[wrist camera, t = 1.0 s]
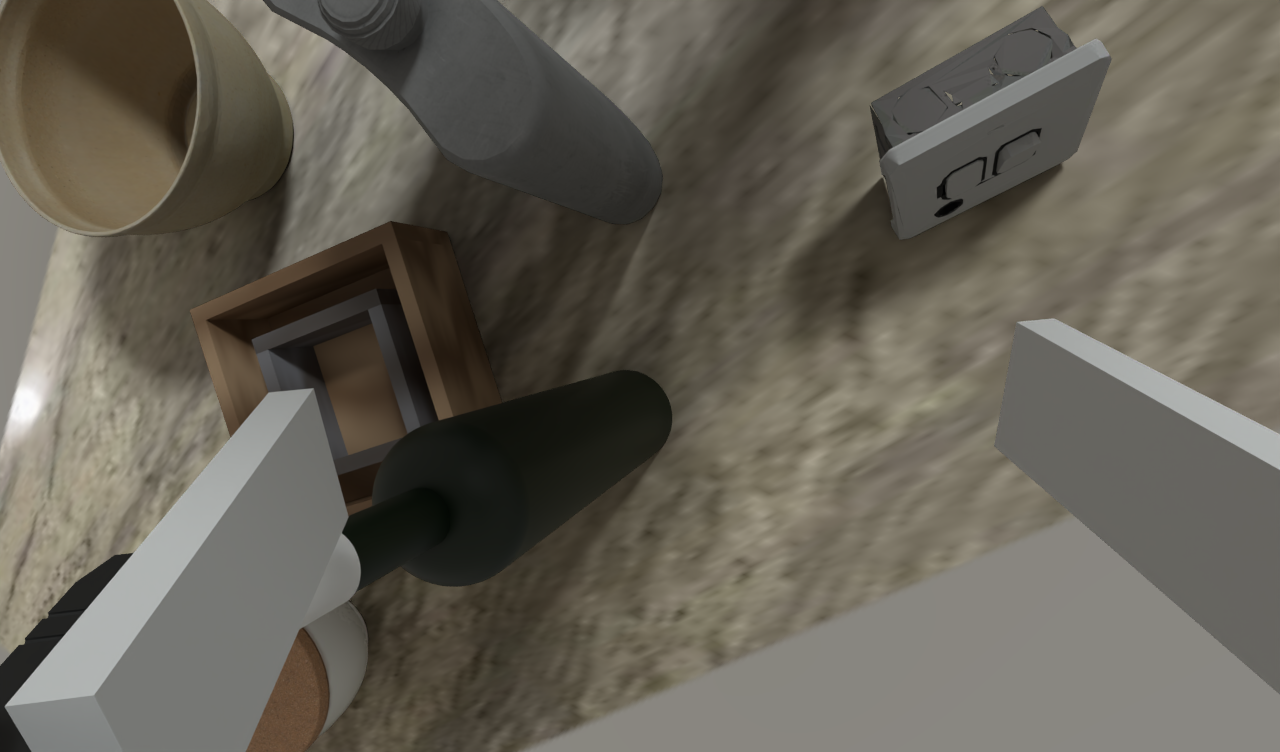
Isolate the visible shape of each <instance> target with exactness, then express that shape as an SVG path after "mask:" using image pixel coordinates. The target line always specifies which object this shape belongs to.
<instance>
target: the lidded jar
mask: <svg viewBox="0 0 1280 752" xmlns="http://www.w3.org/2000/svg"><path fill="white" fill-rule="evenodd" d="M367 662H368V632H367V627H366V624H365V622H364V619H363V617H362V615H361V614H360V612H359V611H358V609H357V608H356V607H355V606H354V605H353V604H352V603H351V602H350V601H347V602H345V603H343V604H341V605H340V606H338V607H336V608H335V609H333V610H331V611H330V612H328V613H326V614H324V615H323V616H321V617H319V618H318V619H316V620H314V621H313V622H311V623H309V624H307V625H306V626H304V627H302V628H301V629H299V631H298V634H297V636H296V638H295V640H294V643H293V645H292V647H291V650H290V652H289V654H288V656H287V659H286V661H285V663H284V666H283V668H282V670H281V672H280V675H279V677H278V679H277V682H276V684H275V686H274V688H273V691H272V693H271V695H270V698H269V700H268V702H267V704H266V707H265V709H264V711H263V714H262V716H261V718H260V720H259V723H258V725H257V727H256V730H255V732H254V734H253V736H252V739H251V741H250V743H249V745H248V748H247V750H246V752H304V751H305V750H306V749H308V748H309V747H310V746H311V745H312V743H313V742H314V741H315V740H316V739H317V738H318V737H319V736H321V735H322V734H323V733H324V732H325V731H326V730H327V729H328V728H330V727H331V726H332V725H333V723H334V722H335V721H336V720H337V719H338V718H339V717H340V716H341V715H342V714H343V713H344V711H345V710H346V709H347V708H348V706H349V705H350V704H351V702H352V701H353V699H354V697H355V696H356V694H357V692H358V690H359V688H360V686H361V684H362V681H363V679H364V676H365V672H366V667H367Z"/></svg>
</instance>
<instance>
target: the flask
mask: <svg viewBox="0 0 1280 752" xmlns="http://www.w3.org/2000/svg"><path fill="white" fill-rule="evenodd" d="M263 1H264V2H265V3H266V4H267V6H268V7H269V8H270V9H271V11H272V12H274V13H276V14H278V15H280V16H282V17H284V18H286V19H288V20H290V21H292V22H294V23H296V24H298V25H300V26H302V27H303V28H305V29H307V30H309V31H311V32H313V33H315V34H317V35H319V36H321V37H323V38H325V39H327V40H328V41H330V42H332V43H333V44H335V45H336V46H338V47H339V48H341V49H342V50H344V51H345V52H346V53H348V54H349V55H350V56H352V57H353V58H354V59H355V60H357V61H358V62H359V63H361V64H362V65H363V66H365V67H366V68H367V69H368V70H369V71H370V72H371V73H373V74H374V75H375V76H376V77H377V78H378V79H379V80H380V81H381V82H382V83H383V84H385V85H386V86H387V87H388V88H389V89H390V90H391V91H392V92H393V93H394V95H395V96H396V97H397V98H398V99H399V100H400V101H401V102H402V103H403V104H404V105H405V106H406V107H407V108H408V109H409V110H410V112H411V113H412V114H413V116H414V117H415V118H416V120H417V121H418V122H419V124H420V125H421V126H422V128H423V129H424V130H425V132H426V133H427V134H428V136H429V137H430V138H431V139H432V141H433V142H434V143H435V145H436V146H437V147H438V148H439V150H440V151H441V152H442V154H443V155H444V156H445V157H446V159H447V160H448V161H450V162H452V163H454V164H456V165H457V166H459V167H461V168H463V169H464V170H466V171H468V172H470V173H473V174H475V175H478V176H481V177H484V178H487V179H489V180H492V181H495V182H498V183H500V184H503V185H506V186H509V187H512V188H514V189H517V190H520V191H523V192H525V193H528V194H531V195H534V196H537V197H539V198H542V199H545V200H548V201H550V202H553V203H556V204H559V205H562V206H564V207H567V208H570V209H573V210H576V211H578V212H581V213H584V214H587V215H589V216H592V217H595V218H598V219H601V220H603V221H606V222H609V223H612V224H629V223H632V222H634V221H637V220H639V219H642V218H643V217H644V216H645V215H646V214H647V213H648V212H649V211H650V210H651V209H652V208H653V207H654V206H655V204H656V202H657V200H658V198H659V196H660V194H661V189H662V177H663V175H662V171H661V168H660V164H659V160H658V158H657V156H656V154H655V152H654V150H653V149H652V147H651V145H650V143H649V142H648V141H647V139H646V138H645V137H644V136H643V134H642V133H641V132H640V131H639V129H638V128H637V127H636V126H635V125H634V124H633V123H632V122H631V120H630V119H629V118H628V117H627V116H626V115H625V114H624V113H623V112H622V111H621V110H620V109H619V108H618V107H617V106H616V105H615V104H614V103H613V102H612V101H611V100H610V99H609V98H607V97H606V96H605V95H604V94H603V93H602V92H601V91H600V90H598V89H597V88H596V87H595V86H594V85H593V84H592V83H590V82H589V81H588V80H587V79H586V78H585V77H584V76H582V75H581V74H580V73H579V72H578V71H577V70H576V69H575V68H573V67H572V66H571V65H570V64H569V63H568V62H567V61H565V60H564V59H563V58H562V57H561V56H560V55H559V54H557V53H556V52H555V51H554V50H553V49H552V48H551V47H550V46H548V45H547V44H546V43H545V42H544V41H543V40H542V39H540V38H539V37H538V36H537V35H536V34H535V33H534V32H533V31H531V30H530V29H529V28H528V27H527V26H526V25H525V24H523V23H522V22H521V21H520V20H519V19H518V18H517V17H515V16H514V15H513V14H512V13H511V12H510V11H509V10H508V9H506V8H505V7H504V6H503V5H502V4H501V3H500V2H498V1H497V0H263Z"/></svg>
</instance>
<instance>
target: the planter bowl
mask: <svg viewBox="0 0 1280 752" xmlns="http://www.w3.org/2000/svg"><path fill="white" fill-rule="evenodd" d="M292 144H293V122H292V117H291V112H290V108H289V105H288V103H287V100H286V98H285V96H284V94H283V92H282V90H281V89H280V87H279V85H278V84H277V83H276V82H275V80H274V79H273V78H272V77H271V76H270V75H269V74H268V73H267V72H266V70H265V68H264V66H263V65H262V63H261V61H260V60H259V58H258V56H257V55H256V53H255V52H254V50H253V49H252V48H251V46H250V45H249V44H248V42H247V41H246V40H245V39H244V37H243V36H242V35H241V34H240V33H239V31H238V30H237V29H236V28H235V27H234V26H233V25H232V24H231V23H230V22H229V21H228V20H227V19H226V18H225V17H224V16H223V15H222V14H221V13H220V12H219V11H218V10H217V9H216V8H215V7H214V6H212V5H211V4H210V3H209V2H208V1H206V0H3V1H2V2H1V5H0V162H1V164H2V166H3V168H4V170H5V172H6V174H7V176H8V177H9V179H10V181H11V183H12V184H13V186H14V187H15V189H16V190H17V192H18V193H19V194H20V196H21V197H22V198H23V199H24V200H25V201H26V202H27V203H28V204H29V206H30V207H31V208H32V209H34V210H35V211H36V212H37V213H38V214H39V215H41V216H42V217H43V218H44V219H46V220H47V221H49V222H51V223H52V224H54V225H56V226H58V227H60V228H62V229H64V230H66V231H69V232H72V233H75V234H80V235H84V236H93V237H114V236H122V235H151V234H164V233H171V232H177V231H182V230H187V229H191V228H194V227H198V226H201V225H203V224H206V223H209V222H211V221H214V220H216V219H218V218H220V217H222V216H224V215H226V214H228V213H229V212H231V211H233V210H234V209H236V208H238V207H239V206H241V205H242V204H243V203H244V202H246V201H247V200H252V199H254V198H257V197H259V196H261V195H262V194H264V193H266V192H267V191H268V190H269V189H271V188H272V187H273V186H274V185H275V183H276V182H277V181H278V180H279V178H280V177H281V175H282V174H283V172H284V170H285V168H286V166H287V163H288V161H289V157H290V154H291V149H292Z"/></svg>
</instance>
